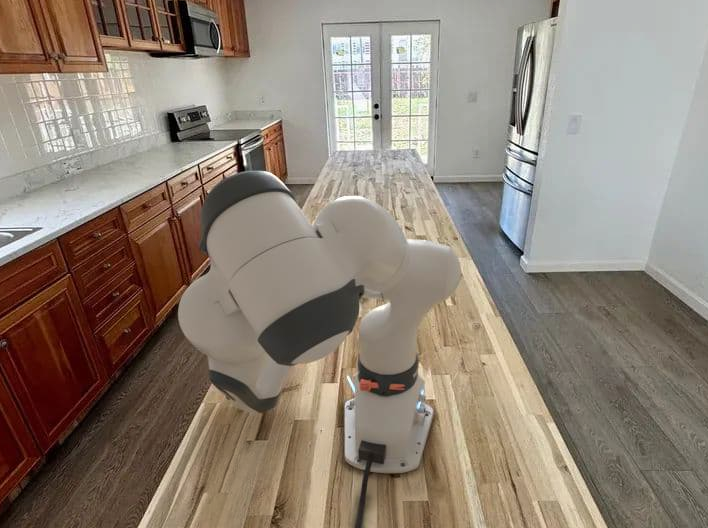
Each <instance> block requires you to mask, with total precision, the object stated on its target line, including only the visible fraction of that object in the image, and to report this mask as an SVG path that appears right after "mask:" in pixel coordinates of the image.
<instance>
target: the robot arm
mask: <svg viewBox="0 0 708 528" xmlns="http://www.w3.org/2000/svg"><path fill="white" fill-rule="evenodd" d="M200 228H201V236H200V239H199V242H198V251H199V252H201V253H203V254H206V255H207V256H206V257H207V258H208V259H209V262H210V267H209V270H208V271H207V273H205V274H204V275H202V276H200V277H198V278H197V279H196V280H194V281H193V282H192V283H191V284H190V285H189V286H188V287H187V288H186V289H185V290H184V292H183V294H182V295H181V298H180V300H179V303H178V309H177V316H178V318H177V319H178V324H179V327H180V329H181V332H182V333H183V335H184V336H185V338H186V339H187V340H188V342H189V343H190V344H191V345H193V347H194V348H196V350H198V351H199V352H200V353H202V354H203V355H204V356H207V361H208V362H207V364H208V380H209V381H210V382H211V384H212V385H213V386H214V387H215V388H216V389H217V390H218V391H219V392H220V393H221V394H223V395H224V396H225V398H226V400H227V401H228V402H229V403H230V404H231V405H233V407H235V408H237V409H238V410H239V411H240V410H241V411H243V412H245V413H249V414H255V415H257V414H261V415H262V414H264V413H267V412H268V411H271V410H272V409H274V408H275V407H276V406H277V403H278V401H279V397H280V395H281V390H282V388H283V386H284V384H285V381H286V379H287V376H288V374H289V372H290V369H291V367H293V366H296V365H304V364H310V363H314V362H317V361H320V360H322V359H324V358H326V357H328V356H329V355H331V354H333V352H335V351H336V350H337V349H338V348H339V347H340V346H341V345H342V344H343V342H344V341H346V338H347V337H348V336H349V335H350V334H352V332H353V330H354V328H355V326H356V323H357V321H358V318H359V314H360V300H361V299H373V300H382V301H383V300H384V301H388V302H387V303H384V304H382V305H380V306H377V307H375V308H373V309H371V310H370V311H368V313H366V314H365V315H364V316H363V318H362V319H361V321H360V322H359V326H358V338H359V339H358V342H359V354H358V356H357V365H356V366H357V367H356V368H357V372H356V373H354V374H353V375H352V379H351V378H350V376H349V375H347V376H346V378H347V381H348V383H349V384H350V387H351V389H352V391H353V397H354V398H352V399H349V400H346V401H345V402H344V408H343V409H344V410H343V411H344V413H343V414H344V417H343V418H344V419H343V421H344V423H343V424H344V425H343V427H344V429H343V431H344V433H343V435H344V436H343V437H344V443H343V444H344V447H343V449H344V453H343V455H344V456H343V457H344V460H345V462H346V463H347V464H348V465H350V466H351V467H354V468H356V469H359V470H361V471H364V472H363V476H362V482H361V490H360V495H359V502H358V509H357V515H356V519H355V526H354V528H362V522H363V516H364V510H365V503H366V497H367V491H368V490H367V489H368V484H369V483H368V482H369V477H370V472H371V473H378V474H402V473H408V472H411V471H414V470H417V469H418V468H419V466H420V464H421V460H422V457H423V454H424V451H425V447H426V443H427V439H428V436H429V434H430V433H429V432H430V429H431V426H432V422H433V419H434V415H435V413H434V408H432V406H430V405H429V404H427V403H426V381H425V379H424V378H423V377H422V376H421V375H420V374H419V358H418V353H417V343H418V336H419V335H418V334H419V329H420V326H421V323H422V321H423V320H424V318H425V316H426V315H427V314H428V313H429V312H430V311H432V309H433V308H435V307H436V306H438V305H440V304H441V303H443V302H445V301H447V300H448V299H449V298H450V297H451V296H452V295H454V293H455V292H456V290H458V289H457V288H458V287H459V284H460V281H461V277H462V265H461V262H460V259H459V257H458V254H457V253H456V251H455V250H454V249H453V248H452V247H451V246H450V245H447V244H442V243H439V242H435V241H431V240H427V239H414V238H412V239H411V238H407V237H406V236H405V233H404V232H403V229H402V228H401V226H400V224H399V223H398V221H397V220H396V218H395V217H394V216H393V215H392V214H391V213H390V212H389V211H388V210H387V209H385V208H384V207H383V206H381V205H380V204H378V203H377V202H376V201H373V200H372V199H368V198H366V197H363V196H359V195H358V196H357V195H347V196H342V197H339V198H337V199H334V200H332V201H331V202H329V203H328V204H327V205H325V206H324V207H323V208H322V209H321V210H320V212H319V213H318V215H317V216H316V218H315V221H314V223H313V225H312V223H311V222H310V220H309V218H308V217H307V215H306V214H305V213H304V212H303V210H302V208H300V206H299V205H298V204H297V202H296V200H295V195H294V194H293V192H292V191H291V190H290V189H289V188H288V187H287V186H286V185H285V183H284V182H283V181H281V180H280V179H279V178H278V177H277V176H276V175H274V174H273V173H271V172H268V171H264V170H245V171H240V172H237V173H234V174H232V175H229V176H227V177H225V178H224V179H222V180H220V181H219V182H217V183H216V184H215V185H214V186H213V187H212V188H211V189H210V190H209V192H208V194H207V195H206V196H205V199H204V201H203V203H202V206H201V209H200ZM352 380H353V382H352Z"/></svg>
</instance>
